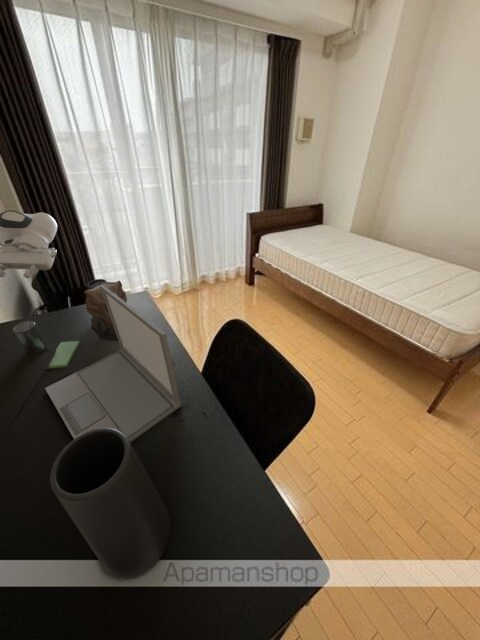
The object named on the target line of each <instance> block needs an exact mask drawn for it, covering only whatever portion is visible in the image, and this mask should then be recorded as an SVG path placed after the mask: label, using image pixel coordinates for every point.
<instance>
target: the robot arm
mask: <svg viewBox="0 0 480 640" xmlns="http://www.w3.org/2000/svg"><path fill="white" fill-rule="evenodd" d="M57 231H58V224H57V222H56V219H54V217H52V216H51V215H50V214H48V213H46V212H36V213H23V212H20V211H17V210H11V209H10V210H9V209H8V210H4V211H2V212H1V213H0V278H5V276H6V275H7V273H6V272H5V271H7V270H25V271H24V273H23V277H24V278H26V279H31V278H32V277H33V275H35V274H37V273H38V272H39V271H48V270H50V269H52V267H53V265H54V262H55V258H56V255H57V254H58V252H57V249H56V248H54V247H49V245H50V243H52V242H53V240H54V239H55V236H56V234H57Z"/></svg>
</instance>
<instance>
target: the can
mask: <svg viewBox="0 0 480 640" xmlns="http://www.w3.org/2000/svg"><path fill="white" fill-rule="evenodd" d="M12 332H13V333H14V334H15V335H16V337H17V338H18V340H19V342H20V343H21V345H22V347H23V348H24V350H25V352H26V354H27V355H29V356H33V357H34V356H38V355H40V354H42V353H44V352H49V348H48V346H47V344H46V342H45V340H44V339H43V336H42V335H41V333H40V331H39V330H38V327H37V325H36V322H35V321H33V320H27V321H23V322H20V323H17V324H16V325H15V326H14V327H13V328H12Z"/></svg>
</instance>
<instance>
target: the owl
mask: <svg viewBox="0 0 480 640" xmlns="http://www.w3.org/2000/svg"><path fill="white" fill-rule="evenodd" d="M101 285H104V286H105V287H106V288H108V289H109V290H110V291H112V292H113V293H114V294H116V295H117V296H118V297H119V298H121V299H122V300H123V301H125V302H126V303H127V304H128V302H127V301H128V298H127V294H126V291H125V290H124V289H123V284H122V282H121V280H117V281H107V282H104V283H101ZM83 293H84V295H85V296H86V298H85V308H86V311H87V313H88V314H90V315H91V316H92V318H91V319H90V322H91V330H92V331H93V332H94V333H95V334H96V336H97V337H99V340H101V341H110V342H111V341H112V342H113V341H115V342H119V341H118V338H117V335H116V332H115V329H114V326H113V323H112V321H111V318H110V315H109V312H108V309H107V306H106V303H105V300H104V297H103V294H102V291H101V288H100V285H99V286H96V287H95V288H93V289H88V290H87V289H86V290H84V292H83Z"/></svg>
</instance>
